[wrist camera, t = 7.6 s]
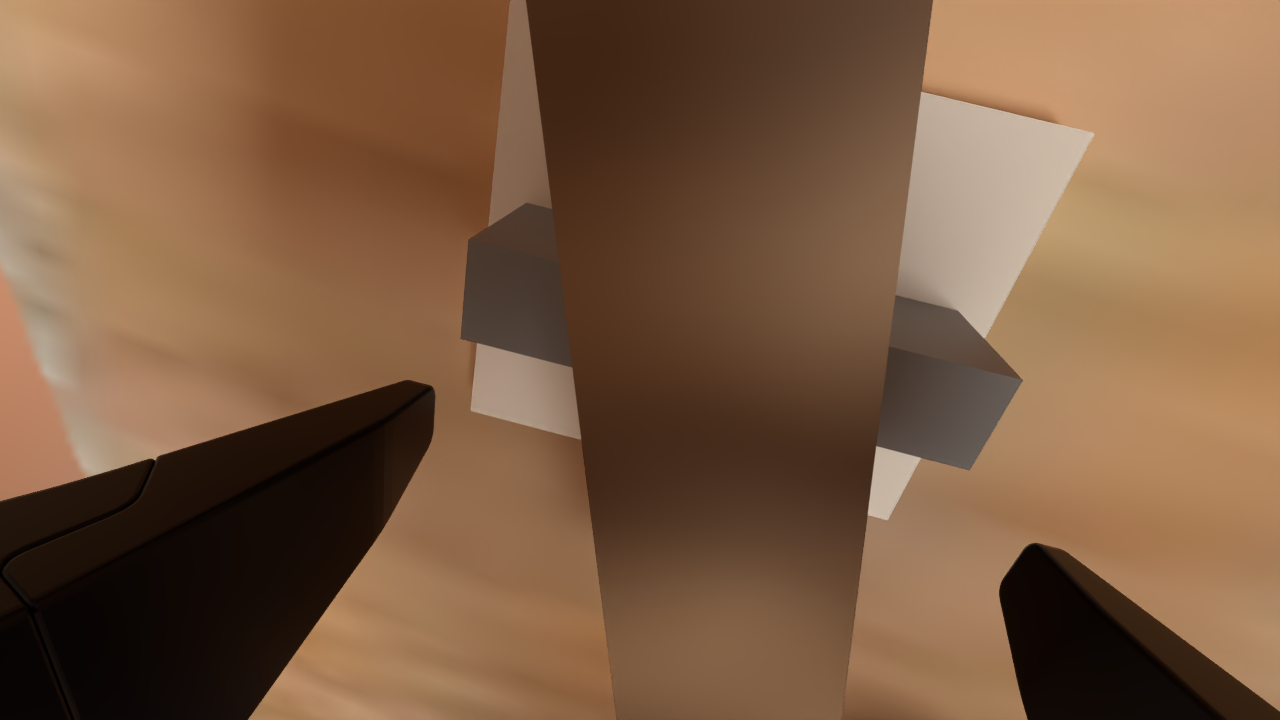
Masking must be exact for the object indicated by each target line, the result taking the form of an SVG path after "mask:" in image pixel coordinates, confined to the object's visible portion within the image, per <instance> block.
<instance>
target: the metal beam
mask: <svg viewBox="0 0 1280 720" xmlns="http://www.w3.org/2000/svg"><path fill="white" fill-rule="evenodd" d="M932 2H933V0H526V6H527V13H528V21H529V29H530V37H531V45H532V53H533V61H534V69H535V77H536V85H537V93H538V101H539V109H540V116H541V124H542V132H543V140H544V148H545V156H546V164H547V172H548V180H549V188H550V196H551V204H552V211H553V219H554V227H555V235H556V243H557V251H558V259H559V267H560V275H561V283H562V291H563V299H564V306H565V314H566V322H567V330H568V338H569V346H570V354H571V362H572V370H573V378H574V386H575V394H576V401H577V409H578V417H579V425H580V433H581V441H582V449H583V457H584V465H585V473H586V481H587V489H588V496H589V504H590V512H591V520H592V528H593V536H594V544H595V552H596V560H597V568H598V576H599V584H600V591H601V599H602V607H603V615H604V623H605V631H606V639H607V647H608V655H609V663H610V671H611V679H612V686H613V694H614V702H615V710H616V718H617V720H842V713H843V705H844V697H845V689H846V681H847V673H848V665H849V657H850V650H851V642H852V634H853V626H854V618H855V610H856V602H857V594H858V586H859V578H860V571H861V563H862V555H863V547H864V539H865V531H866V523H867V515H868V507H869V500H870V492H871V484H872V476H873V468H874V460H875V452H876V444H877V436H878V429H879V421H880V413H881V405H882V397H883V389H884V381H885V373H886V365H887V358H888V350H889V342H890V334H891V326H892V318H893V310H894V302H895V294H896V286H897V279H898V271H899V263H900V255H901V247H902V239H903V231H904V223H905V215H906V208H907V200H908V192H909V184H910V176H911V168H912V160H913V152H914V144H915V137H916V129H917V121H918V113H919V105H920V97H921V89H922V81H923V73H924V66H925V58H926V50H927V42H928V34H929V26H930V18H931V10H932Z"/></svg>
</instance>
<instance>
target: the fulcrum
mask: <svg viewBox="0 0 1280 720" xmlns="http://www.w3.org/2000/svg"><path fill="white" fill-rule="evenodd" d="M1094 134H1095V133H1092V132H1088V131H1084V130H1080V129H1075V128H1071V127H1067V126H1063V125H1059V124H1054V123H1050V122H1046V121H1042V120H1038V119H1034V118H1029V117H1025V116H1021V115H1017V114H1013V113H1009V112H1004V111H1000V110H996V109H992V108H988V107H984V106H979V105H975V104H971V103H967V102H963V101H959V100H954V99H950V98H946V97H942V96H938V95H934V94H929V93H925V92H921V97H920V105H919V113H918V121H917V129H916V137H915V144H914V152H913V160H912V168H911V176H910V184H909V192H908V200H907V208H906V215H905V223H904V231H903V239H902V247H901V255H900V263H899V271H898V279H897V286H896V294H895V302H894V310H893V318H892V326H891V334H890V342H889V350H888V358H887V365H886V373H885V381H884V389H883V397H882V405H881V413H880V421H879V429H878V436H877V444H876V452H875V460H874V468H873V476H872V484H871V492H870V500H869V507H868V515H869V516H873V517H877V518H881V519H884V520H888V519H889V517H890V515H891V513H892V511H893V509H894V507H895V506H896V504H897V502H898V500H899V498H900V496H901V494H902V492H903V491H904V489H905V487H906V485H907V483H908V481H909V479H910V478H911V476H912V474H913V472H914V470H915V468H916V466H917V464H918V463H919V461H920V459H921V458H924V459H927V460H931V461H935V462H939V463H943V464H947V465H951V466H955V467H958V468H962V469H966V470H970V469H971V467H972V465H973V464H974V462H975V460H976V459H977V457H978V455H979V454H980V452H981V450H982V448H983V447H984V445H985V443H986V442H987V440H988V438H989V437H990V435H991V433H992V432H993V430H994V428H995V426H996V425H997V423H998V421H999V420H1000V418H1001V416H1002V415H1003V413H1004V411H1005V409H1006V408H1007V406H1008V404H1009V403H1010V401H1011V399H1012V398H1013V396H1014V394H1015V392H1016V391H1017V389H1018V387H1019V386H1020V384H1021V382H1022V381H1023V380H1022V379H1021V378H1020V377H1019V376H1018V374H1017V373H1016V372H1015V371H1014V370H1013V369H1012V368H1011V367H1010V366H1009V365H1008V364H1007V363H1006V362H1005V361H1004V359H1003V358H1002V357H1001V356H1000V355H999V354H998V353H997V352H996V351H995V350H994V349H993V348H992V347H991V346H990V344H989V343H988V342H987V341H986V340H985V337H986V336H987V334H988V332H989V330H990V328H991V326H992V324H993V322H994V321H995V319H996V317H997V315H998V313H999V311H1000V309H1001V308H1002V306H1003V304H1004V302H1005V300H1006V298H1007V296H1008V294H1009V293H1010V291H1011V289H1012V287H1013V285H1014V283H1015V281H1016V280H1017V278H1018V276H1019V274H1020V272H1021V270H1022V268H1023V266H1024V265H1025V263H1026V261H1027V259H1028V257H1029V255H1030V253H1031V252H1032V250H1033V248H1034V246H1035V244H1036V242H1037V240H1038V238H1039V237H1040V235H1041V233H1042V231H1043V229H1044V227H1045V225H1046V223H1047V222H1048V220H1049V218H1050V216H1051V214H1052V212H1053V210H1054V209H1055V207H1056V205H1057V203H1058V201H1059V199H1060V197H1061V195H1062V194H1063V192H1064V190H1065V188H1066V186H1067V184H1068V182H1069V181H1070V179H1071V177H1072V175H1073V173H1074V171H1075V169H1076V167H1077V166H1078V164H1079V162H1080V160H1081V158H1082V156H1083V154H1084V153H1085V151H1086V149H1087V147H1088V145H1089V143H1090V141H1091V139H1092V138H1093V136H1094ZM461 339H463V340H467V341H471V342H475V343H477V349H476V359H475V370H474V380H473V391H472V401H471V411H473V412H476V413H480V414H484V415H488V416H492V417H495V418H499V419H503V420H507V421H511V422H515V423H518V424H522V425H526V426H530V427H534V428H537V429H541V430H545V431H549V432H553V433H556V434H560V435H564V436H568V437H572V438H576V439H579V440H581V433H580V425H579V417H578V409H577V401H576V394H575V386H574V378H573V370H572V362H571V354H570V346H569V338H568V330H567V322H566V314H565V306H564V299H563V291H562V283H561V275H560V267H559V259H558V251H557V243H556V235H555V227H554V219H553V211H552V204H551V196H550V188H549V180H548V172H547V164H546V156H545V148H544V140H543V132H542V124H541V116H540V109H539V101H538V93H537V85H536V77H535V69H534V61H533V53H532V45H531V37H530V29H529V21H528V13H527V6H526V0H510V4H509V14H508V25H507V35H506V46H505V56H504V66H503V77H502V87H501V98H500V108H499V119H498V129H497V140H496V150H495V161H494V171H493V182H492V192H491V202H490V213H489V223H488V228H486V229H485V230H483V231H481V232H480V233H478V234H477V235H475V236H474V237H472V238H471V239H469V241H468V253H467V266H466V278H465V290H464V303H463V315H462V327H461Z"/></svg>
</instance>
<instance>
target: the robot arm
mask: <svg viewBox="0 0 1280 720" xmlns="http://www.w3.org/2000/svg"><path fill="white" fill-rule="evenodd" d="M434 414H435V390H434V388H433V387H432V386H430V385H427V384H423V383H419V382H415V381H411V380H404V381H401V382H398V383H395V384H391V385H388V386H385V387H382V388H378V389H375V390H372V391H369V392H365V393H362V394H359V395H356V396H352V397H349V398H346V399H343V400H339V401H336V402H333V403H330V404H326V405H323V406H320V407H317V408H313V409H310V410H307V411H304V412H300V413H297V414H294V415H290V416H287V417H284V418H281V419H277V420H274V421H271V422H268V423H264V424H261V425H258V426H255V427H251V428H248V429H245V430H242V431H238V432H235V433H232V434H229V435H225V436H222V437H219V438H216V439H212V440H209V441H206V442H203V443H199V444H196V445H193V446H190V447H186V448H183V449H180V450H177V451H173V452H170V453H167V454H164V455H160V456H158V457H157V459H156V460H154V459H147V460H144V461H140V462H137V463H134V464H131V465H128V466H124V467H121V468H118V469H115V470H111V471H108V472H104V473H101V474H98V475H94V476H91V477H87V478H84V479H81V480H77V481H74V482H70V483H67V484H63V485H60V486H56V487H53V488H49V489H45V490H41V491H37V492H33V493H30V494H26V495H22V496H18V497H14V498H10V499H7V500H3V501H0V720H248V719H249V718H250V716H251V715H252V713H253V712H254V711H255V709H256V708H257V706H258V705H259V703H260V702H261V701H262V699H263V698H264V696H265V695H266V694H267V692H268V691H269V689H270V688H271V687H272V685H273V684H274V682H275V681H276V680H277V678H278V677H279V675H280V674H281V673H282V671H283V670H284V668H285V667H286V666H287V664H288V663H289V661H290V660H291V659H292V657H293V656H294V654H295V653H296V651H297V650H298V649H299V647H300V646H301V644H302V643H303V642H304V640H305V639H306V637H307V636H308V635H309V633H310V632H311V630H312V629H313V628H314V626H315V625H316V623H317V622H318V621H319V619H320V618H321V616H322V615H323V614H324V612H325V611H326V609H327V608H328V607H329V605H330V604H331V602H332V601H333V600H334V598H335V597H336V595H337V594H338V592H339V591H340V590H341V588H342V587H343V585H344V584H345V583H346V581H347V580H348V578H349V577H350V576H351V574H352V573H353V571H354V570H355V569H356V567H357V566H358V564H359V563H360V562H361V560H362V559H363V557H364V556H365V555H366V553H367V552H368V550H369V549H370V548H371V546H372V545H373V543H374V542H375V540H376V539H377V537H378V536H379V534H380V533H381V531H382V530H383V528H384V527H385V525H386V523H387V522H388V520H389V518H390V516H391V515H392V513H393V511H394V509H395V507H396V506H397V504H398V502H399V500H400V498H401V497H402V495H403V493H404V491H405V489H406V487H407V486H408V484H409V482H410V480H411V478H412V477H413V475H414V473H415V471H416V469H417V467H418V466H419V464H420V462H421V460H422V458H423V457H424V455H425V453H426V451H427V449H428V447H429V445H430V443H431V440H432V436H433V430H434ZM999 597H1000V603H1001V607H1002V612H1003V617H1004V621H1005V626H1006V631H1007V635H1008V640H1009V645H1010V649H1011V654H1012V659H1013V663H1014V668H1015V673H1016V677H1017V682H1018V686H1019V690H1020V694H1021V698H1022V702H1023V705H1024V709H1025V712H1026V716H1027V719H1028V720H1280V711H1278V710H1277V709H1276V708H1274V707H1273V706H1272V705H1270V704H1269V703H1268V702H1266V701H1265V700H1264V699H1262V698H1261V697H1260V696H1258V695H1257V694H1256V693H1254V692H1253V691H1252V690H1250V689H1249V688H1248V687H1246V686H1245V685H1244V684H1242V683H1241V682H1240V681H1238V680H1237V679H1236V678H1234V677H1233V676H1232V675H1230V674H1229V673H1228V672H1226V671H1225V670H1224V669H1222V668H1221V667H1219V666H1218V665H1217V664H1215V663H1214V662H1213V661H1211V660H1210V659H1209V658H1207V657H1206V656H1205V655H1203V654H1202V653H1201V652H1199V651H1198V650H1197V649H1195V648H1194V647H1193V646H1191V645H1190V644H1189V643H1187V642H1186V641H1185V640H1183V639H1182V638H1181V637H1179V636H1178V635H1177V634H1175V633H1174V632H1173V631H1171V630H1170V629H1169V628H1167V627H1166V626H1165V625H1163V624H1162V623H1161V622H1159V621H1158V620H1157V619H1155V618H1154V617H1153V616H1151V615H1150V614H1149V613H1147V612H1146V611H1145V610H1143V609H1142V608H1141V607H1139V606H1138V605H1137V604H1135V603H1134V602H1133V601H1131V600H1130V599H1129V598H1127V597H1126V596H1125V595H1123V594H1122V593H1121V592H1119V591H1118V590H1117V589H1115V588H1114V587H1113V586H1111V585H1110V584H1109V583H1107V582H1106V581H1105V580H1103V579H1102V578H1101V577H1099V576H1098V575H1097V574H1095V573H1094V572H1093V571H1091V570H1090V569H1089V568H1087V567H1086V566H1085V565H1083V564H1082V563H1081V562H1079V561H1078V560H1077V559H1075V558H1074V557H1073V556H1071V555H1070V554H1069V553H1067V552H1066V551H1064V550H1061V549H1059V548H1055V547H1051V546H1047V545H1043V544H1039V543H1032V544H1029V545H1028V546H1026V547H1025V548H1024V549H1023V551H1022V552H1021V554H1020V555H1019V557H1018V558H1017V559H1016V561H1015V562H1014V564H1013V565H1012V567H1011V568H1010V569H1009V571H1008V572H1007V574H1006V575H1005V577H1004V578H1003V580H1002V582H1001V585H1000V590H999Z"/></svg>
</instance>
